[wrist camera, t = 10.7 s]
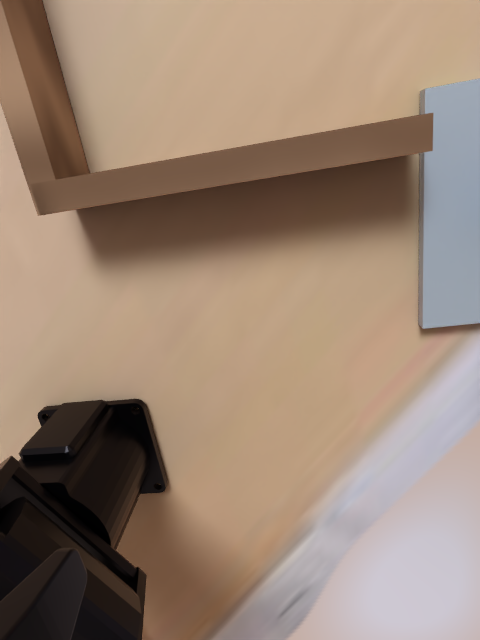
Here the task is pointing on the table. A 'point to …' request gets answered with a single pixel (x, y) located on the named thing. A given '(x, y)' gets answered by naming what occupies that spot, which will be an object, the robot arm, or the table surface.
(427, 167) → the pad
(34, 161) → the walnut cubby
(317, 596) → the table surface
